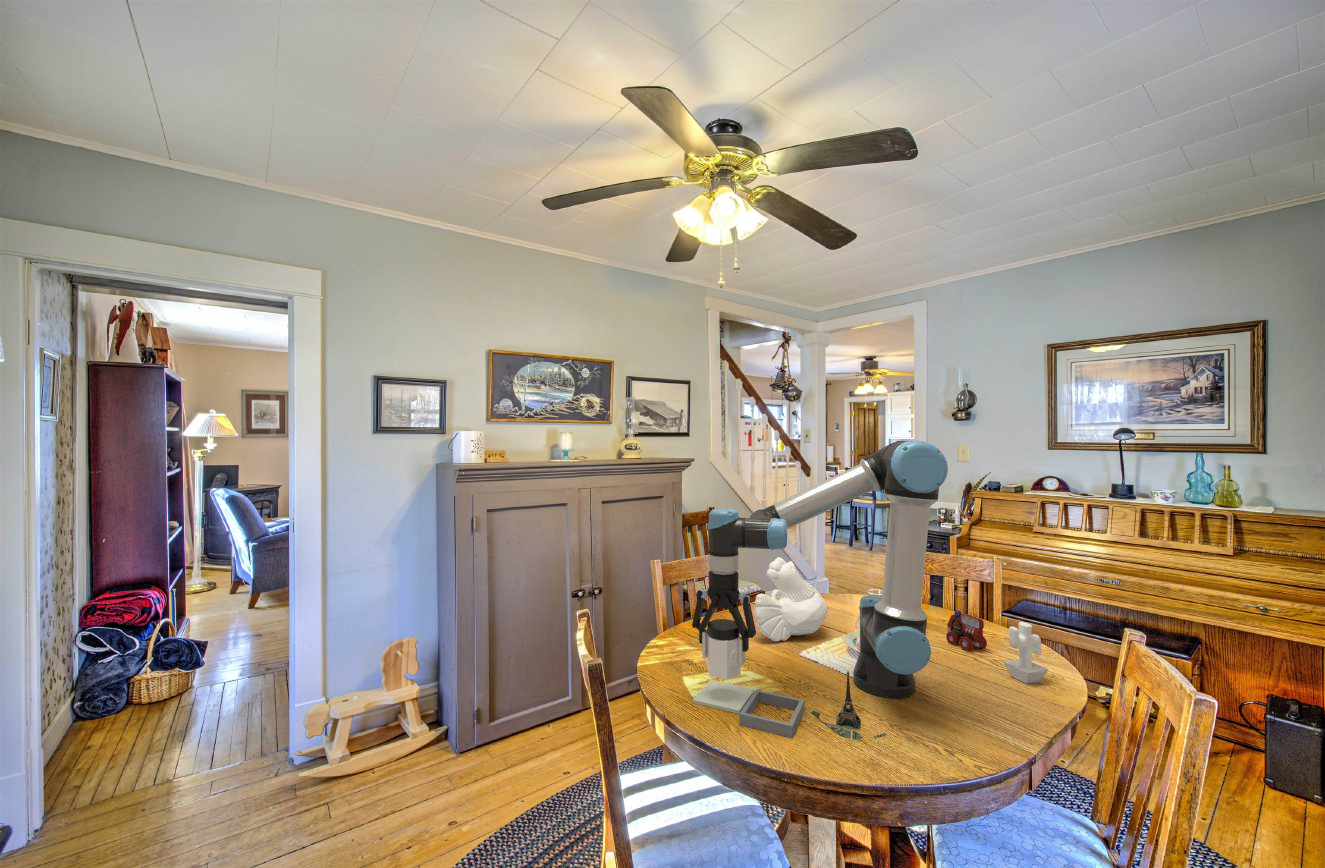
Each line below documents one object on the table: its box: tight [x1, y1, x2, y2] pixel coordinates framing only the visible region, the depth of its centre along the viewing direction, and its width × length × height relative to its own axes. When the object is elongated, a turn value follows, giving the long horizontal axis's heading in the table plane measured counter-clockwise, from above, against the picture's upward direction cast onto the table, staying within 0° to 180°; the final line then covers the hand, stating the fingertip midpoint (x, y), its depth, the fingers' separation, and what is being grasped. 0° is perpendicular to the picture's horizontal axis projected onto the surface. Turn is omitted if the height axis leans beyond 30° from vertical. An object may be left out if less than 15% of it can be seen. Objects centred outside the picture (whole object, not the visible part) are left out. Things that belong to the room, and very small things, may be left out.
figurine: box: [1003, 621, 1050, 684], centre depth 143 cm, size 7×9×15 cm
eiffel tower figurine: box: [809, 670, 887, 741], centre depth 121 cm, size 15×10×13 cm
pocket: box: [738, 689, 806, 739], centre depth 124 cm, size 12×13×2 cm
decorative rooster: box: [754, 556, 828, 643], centre depth 176 cm, size 25×16×25 cm
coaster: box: [692, 679, 755, 714], centre depth 134 cm, size 12×12×1 cm
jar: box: [706, 618, 742, 680], centre depth 134 cm, size 9×8×12 cm
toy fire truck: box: [946, 610, 988, 652], centre depth 165 cm, size 7×12×10 cm, turn 17°
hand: (723, 659), depth 134 cm, fingers closed on jar, 9 cm apart
